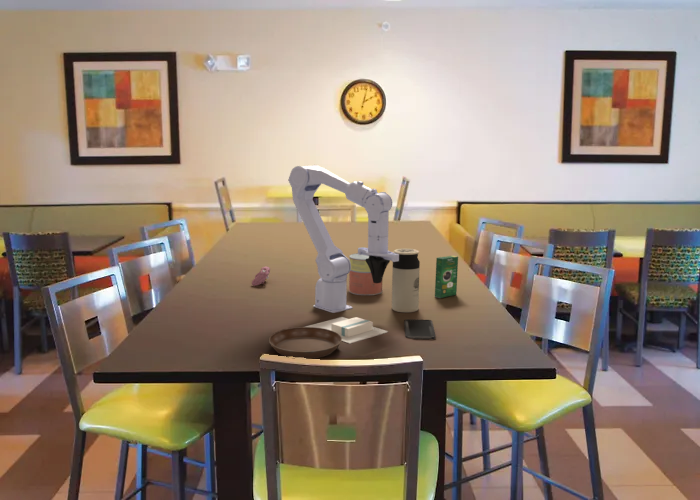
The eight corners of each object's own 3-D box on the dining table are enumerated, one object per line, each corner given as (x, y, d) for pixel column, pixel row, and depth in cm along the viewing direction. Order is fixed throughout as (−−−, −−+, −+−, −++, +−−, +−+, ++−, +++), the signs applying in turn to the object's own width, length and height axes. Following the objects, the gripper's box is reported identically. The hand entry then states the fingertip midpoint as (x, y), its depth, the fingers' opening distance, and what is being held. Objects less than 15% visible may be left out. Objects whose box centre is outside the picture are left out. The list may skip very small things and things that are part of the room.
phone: (405, 336, 160) (404, 319, 175) (405, 340, 160) (404, 323, 175) (436, 336, 160) (432, 319, 174) (436, 341, 160) (432, 323, 175)
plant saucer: (350, 358, 147) (350, 346, 146) (275, 366, 142) (275, 353, 141) (331, 335, 163) (331, 324, 163) (263, 341, 158) (263, 330, 158)
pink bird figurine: (262, 290, 215) (271, 273, 214) (250, 284, 214) (259, 267, 213) (265, 284, 225) (274, 267, 224) (254, 278, 224) (262, 261, 223)
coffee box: (450, 293, 207) (452, 254, 204) (457, 295, 205) (458, 255, 202) (434, 297, 202) (435, 257, 199) (440, 298, 200) (442, 258, 197)
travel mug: (386, 309, 187) (387, 250, 184) (402, 304, 193) (404, 247, 189) (407, 315, 181) (408, 254, 178) (423, 309, 187) (425, 250, 184)
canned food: (389, 292, 208) (390, 257, 205) (361, 297, 201) (362, 260, 199) (369, 285, 217) (369, 251, 214) (342, 289, 210) (342, 255, 208)
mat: (304, 328, 168) (304, 326, 168) (342, 318, 178) (342, 316, 178) (349, 344, 156) (349, 343, 156) (388, 332, 165) (388, 331, 165)
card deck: (331, 323, 164) (347, 328, 159) (356, 316, 170) (372, 321, 165) (331, 331, 164) (347, 337, 160) (356, 325, 170) (372, 330, 166)
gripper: (350, 234, 179) (349, 280, 181) (386, 240, 168) (386, 289, 171) (367, 231, 183) (367, 276, 186) (404, 237, 173) (403, 285, 175)
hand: (377, 282), depth 179 cm, fingers closed
